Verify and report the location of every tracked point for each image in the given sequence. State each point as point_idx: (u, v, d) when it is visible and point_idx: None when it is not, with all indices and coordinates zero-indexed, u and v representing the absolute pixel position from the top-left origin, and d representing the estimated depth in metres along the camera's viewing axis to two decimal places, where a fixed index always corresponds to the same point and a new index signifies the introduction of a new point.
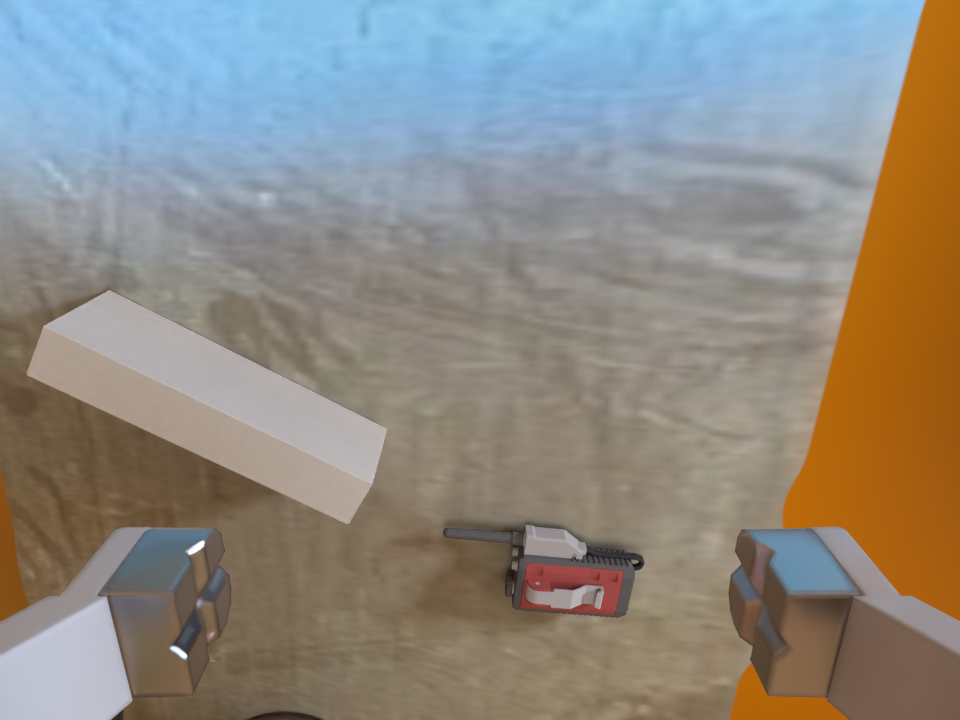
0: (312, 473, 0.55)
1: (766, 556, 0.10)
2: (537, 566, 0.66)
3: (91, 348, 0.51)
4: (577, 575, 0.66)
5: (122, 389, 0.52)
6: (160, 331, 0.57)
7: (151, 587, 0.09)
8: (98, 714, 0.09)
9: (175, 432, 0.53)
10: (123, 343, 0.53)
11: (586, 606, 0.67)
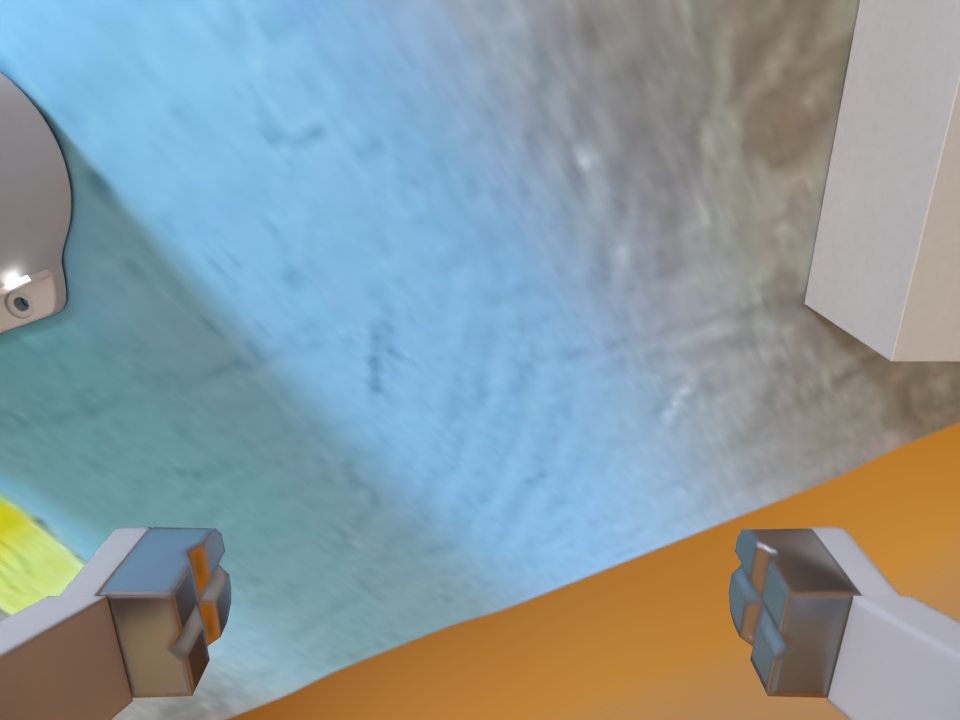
0: None
1: (766, 556, 0.10)
2: None
3: (907, 290, 0.32)
4: None
5: None
6: (843, 215, 0.37)
7: (151, 587, 0.09)
8: (99, 714, 0.09)
9: None
10: (882, 252, 0.34)
11: None
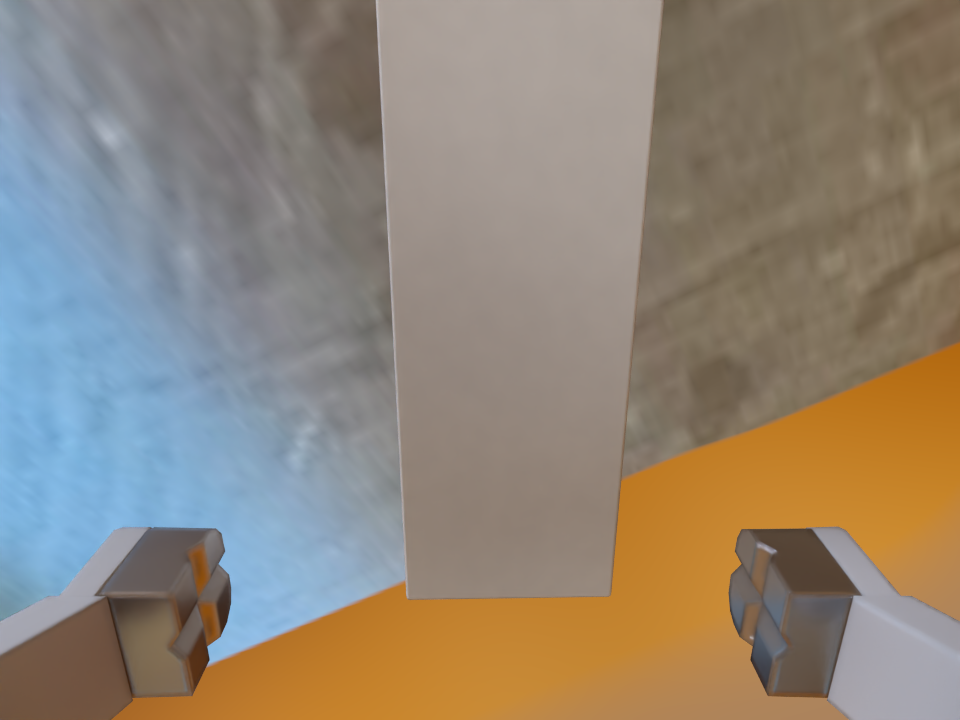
0: None
1: (766, 556, 0.10)
2: None
3: (399, 457, 0.14)
4: None
5: (501, 307, 0.13)
6: None
7: (151, 587, 0.09)
8: (98, 714, 0.09)
9: (598, 18, 0.11)
10: None
11: None
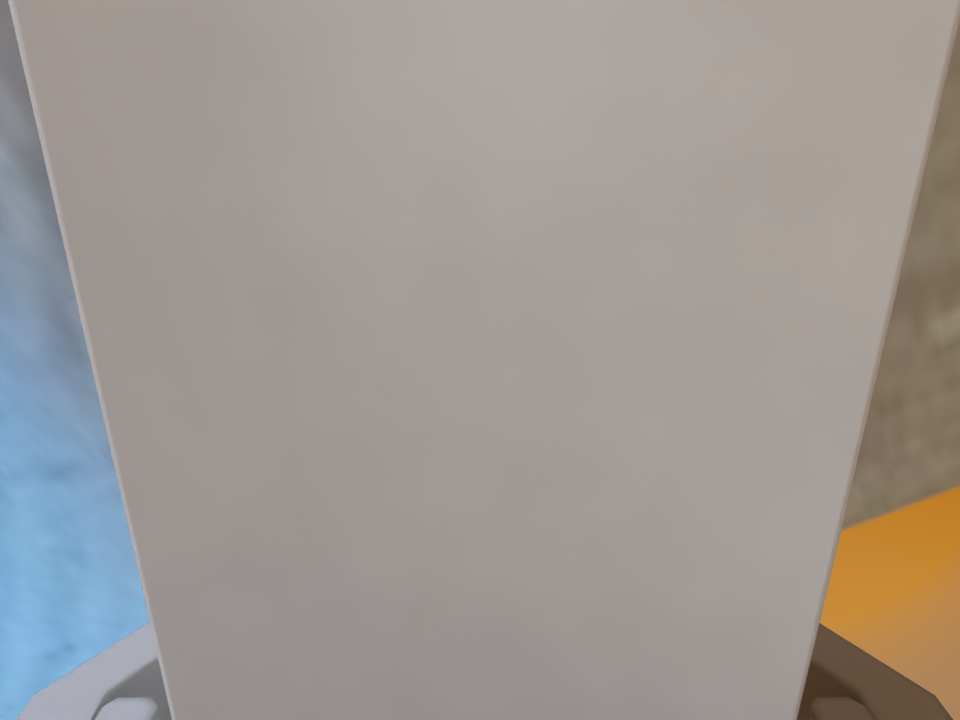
0: None
1: None
2: None
3: None
4: None
5: (448, 673, 0.05)
6: None
7: None
8: None
9: None
10: None
11: None
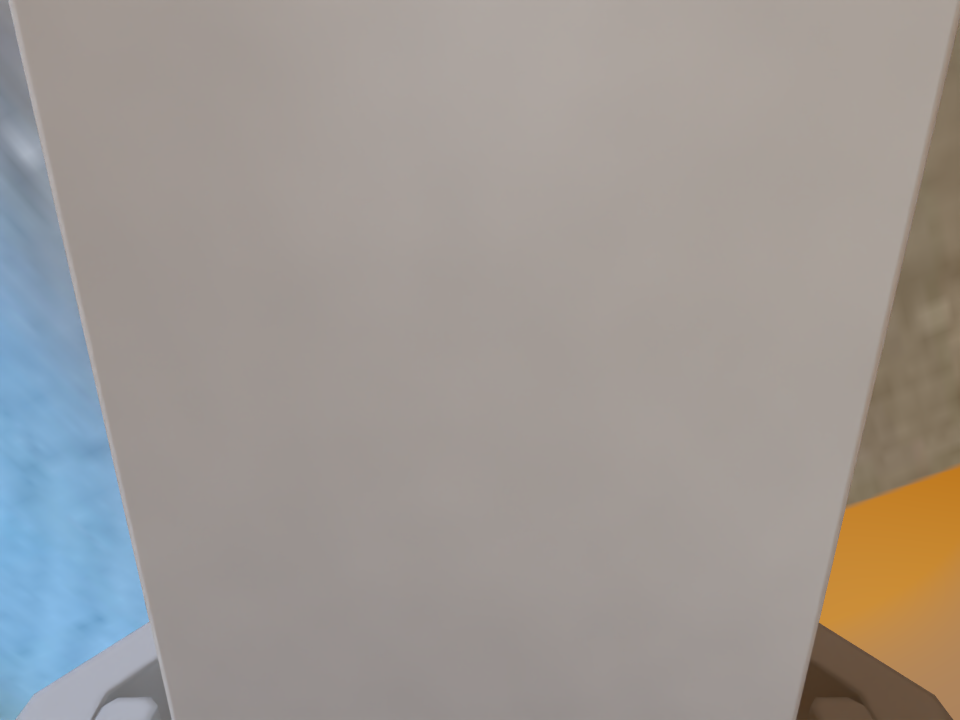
0: None
1: None
2: None
3: None
4: None
5: (446, 672, 0.05)
6: None
7: None
8: None
9: None
10: None
11: None
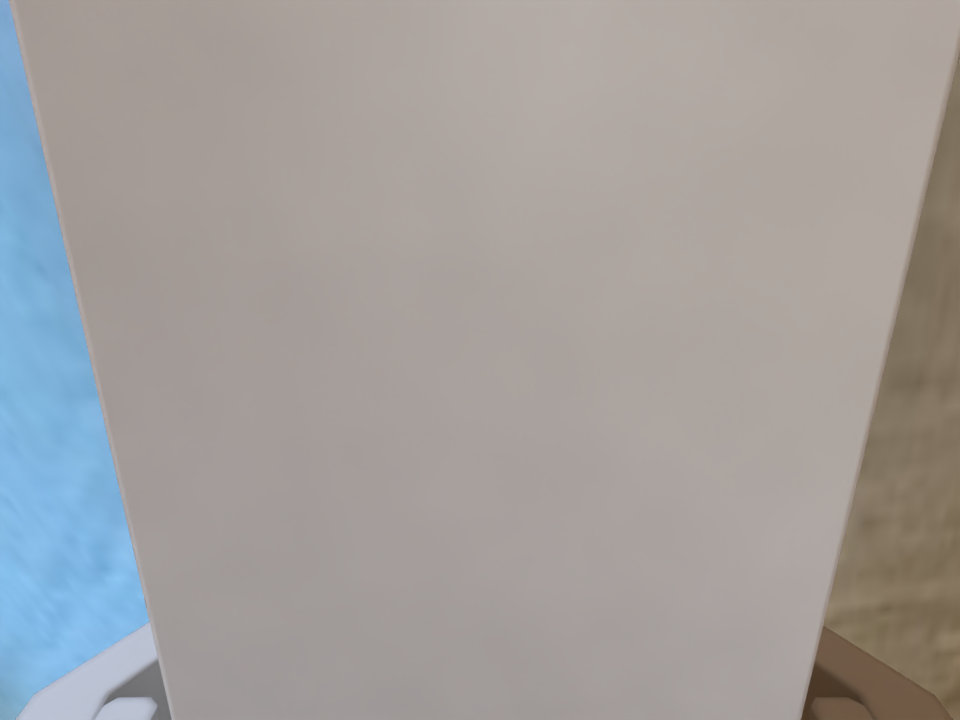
0: None
1: None
2: None
3: None
4: None
5: (449, 676, 0.05)
6: None
7: None
8: None
9: None
10: None
11: None
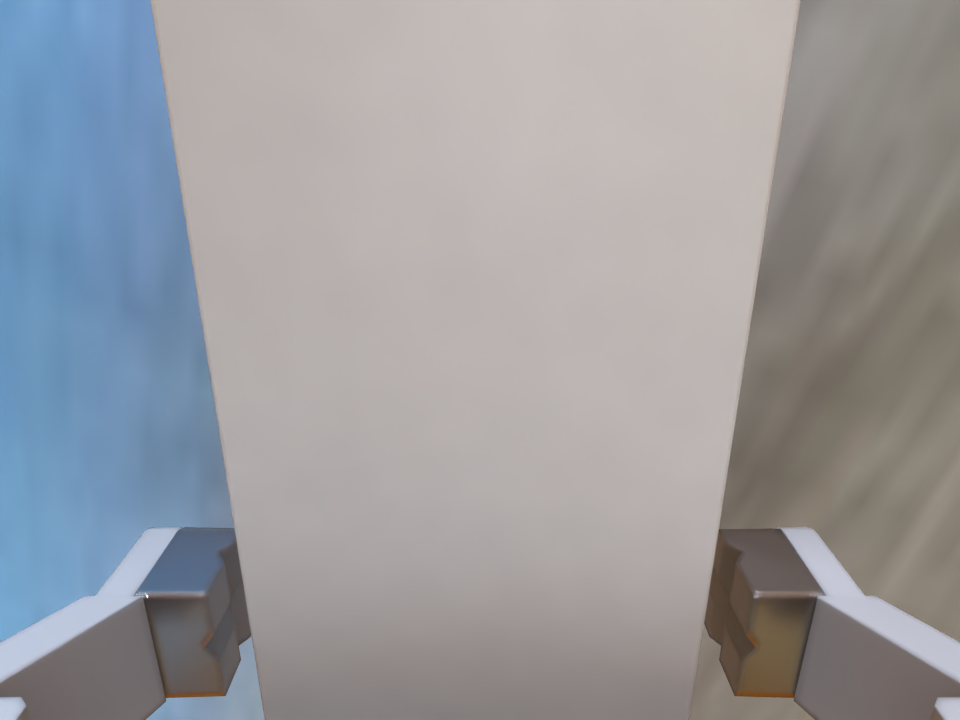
0: None
1: (734, 556, 0.10)
2: None
3: None
4: None
5: (450, 568, 0.06)
6: None
7: (187, 587, 0.09)
8: (134, 714, 0.09)
9: (654, 4, 0.05)
10: None
11: None
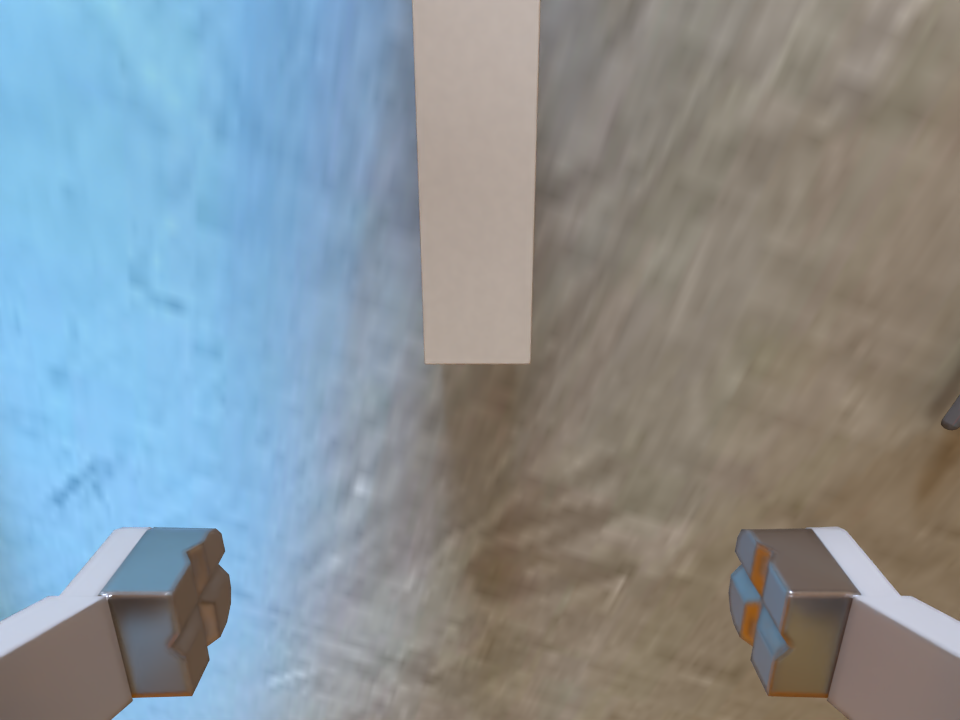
0: None
1: (766, 556, 0.10)
2: None
3: None
4: None
5: (470, 204, 0.27)
6: None
7: (151, 587, 0.09)
8: (99, 714, 0.09)
9: (510, 72, 0.25)
10: None
11: None
